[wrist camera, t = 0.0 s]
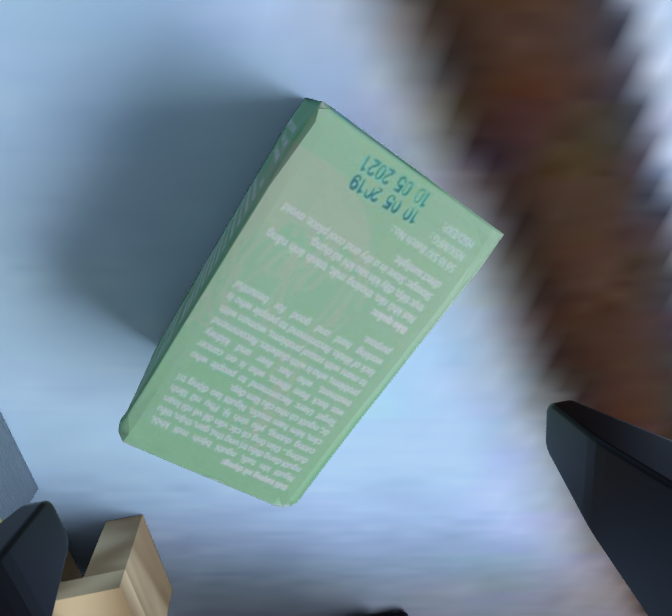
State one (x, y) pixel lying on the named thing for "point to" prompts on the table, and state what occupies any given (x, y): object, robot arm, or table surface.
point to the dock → (13, 475)
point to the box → (304, 310)
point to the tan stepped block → (117, 576)
